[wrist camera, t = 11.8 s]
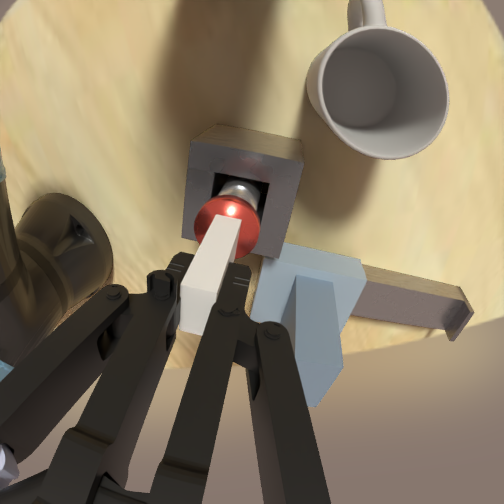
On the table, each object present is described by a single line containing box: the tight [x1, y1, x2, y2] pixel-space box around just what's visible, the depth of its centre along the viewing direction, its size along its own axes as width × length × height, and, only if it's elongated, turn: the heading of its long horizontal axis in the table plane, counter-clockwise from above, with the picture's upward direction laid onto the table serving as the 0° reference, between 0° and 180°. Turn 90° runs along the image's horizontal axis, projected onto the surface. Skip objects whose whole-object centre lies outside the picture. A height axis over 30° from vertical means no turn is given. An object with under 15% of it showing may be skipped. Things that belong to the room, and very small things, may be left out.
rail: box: [254, 256, 474, 341], centre depth 33 cm, size 26×5×5 cm, turn 80°
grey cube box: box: [182, 124, 304, 259], centre depth 26 cm, size 8×8×8 cm
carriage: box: [250, 242, 367, 407], centre depth 28 cm, size 10×8×14 cm
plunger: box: [194, 175, 263, 259], centre depth 23 cm, size 4×4×9 cm
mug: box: [306, 0, 449, 160], centre depth 18 cm, size 12×8×11 cm
